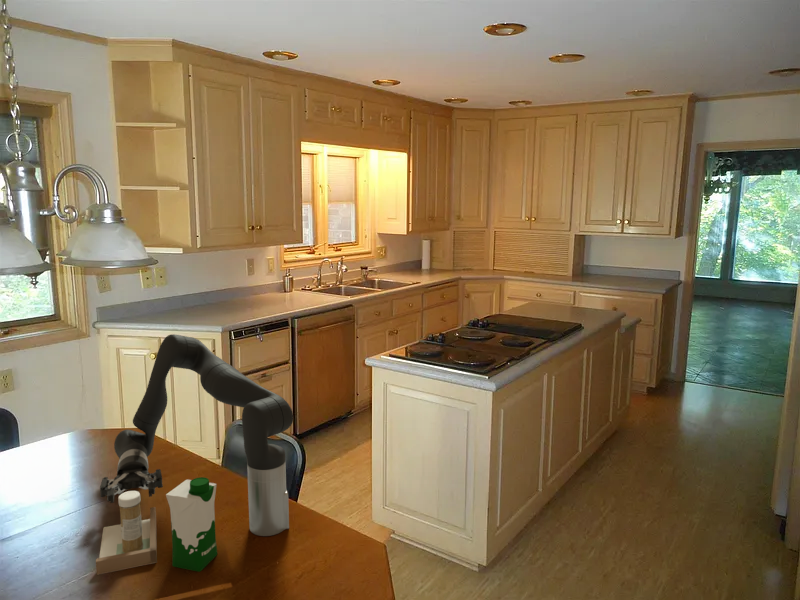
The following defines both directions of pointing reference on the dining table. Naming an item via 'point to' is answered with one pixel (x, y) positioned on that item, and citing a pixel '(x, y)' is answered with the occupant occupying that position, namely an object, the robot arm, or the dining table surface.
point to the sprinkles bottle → (130, 521)
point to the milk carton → (193, 524)
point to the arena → (131, 559)
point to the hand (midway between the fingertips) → (131, 496)
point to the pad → (145, 546)
